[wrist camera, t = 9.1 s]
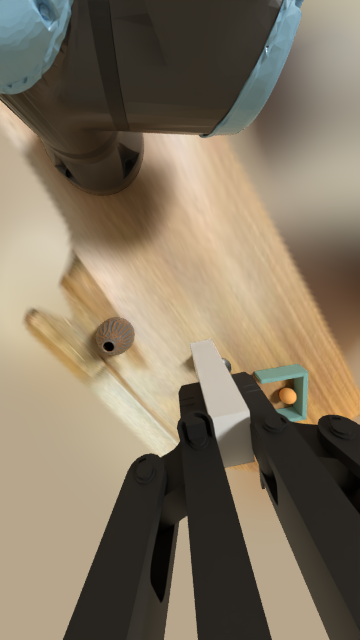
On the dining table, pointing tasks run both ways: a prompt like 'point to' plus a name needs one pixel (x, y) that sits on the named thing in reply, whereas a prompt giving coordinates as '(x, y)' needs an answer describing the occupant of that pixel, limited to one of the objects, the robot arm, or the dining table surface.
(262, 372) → the teal arch
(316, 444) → the robot arm
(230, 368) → the pivot base
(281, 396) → the ball
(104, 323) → the vase
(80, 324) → the dining table surface
